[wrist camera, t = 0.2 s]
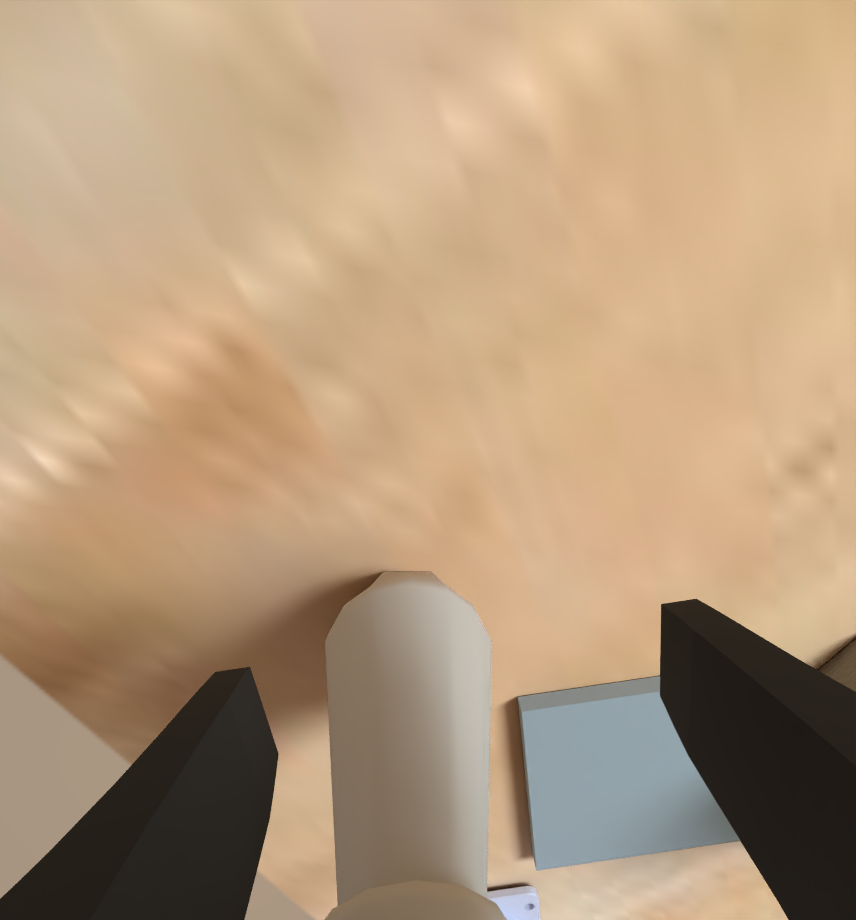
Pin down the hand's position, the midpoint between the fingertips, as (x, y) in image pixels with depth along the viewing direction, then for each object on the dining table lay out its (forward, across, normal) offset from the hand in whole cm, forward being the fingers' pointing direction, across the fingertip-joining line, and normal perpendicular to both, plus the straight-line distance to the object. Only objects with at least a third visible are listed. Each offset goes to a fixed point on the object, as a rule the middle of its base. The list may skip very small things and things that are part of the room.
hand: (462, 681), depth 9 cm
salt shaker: (+10, +2, +6) cm, 12 cm away
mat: (+10, -7, +16) cm, 20 cm away
